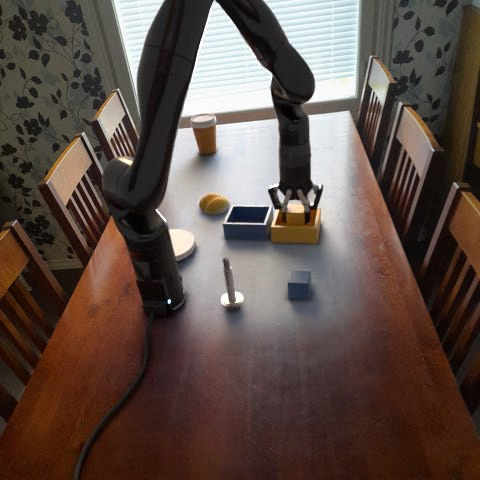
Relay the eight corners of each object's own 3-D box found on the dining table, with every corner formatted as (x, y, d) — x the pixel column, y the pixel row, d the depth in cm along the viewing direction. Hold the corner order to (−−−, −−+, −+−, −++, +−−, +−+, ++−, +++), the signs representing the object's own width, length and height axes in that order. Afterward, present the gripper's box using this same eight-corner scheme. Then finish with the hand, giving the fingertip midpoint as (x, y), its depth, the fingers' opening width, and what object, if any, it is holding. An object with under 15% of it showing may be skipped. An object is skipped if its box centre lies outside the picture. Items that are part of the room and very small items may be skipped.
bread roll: (214, 218, 130) (212, 206, 127) (195, 209, 135) (193, 196, 133) (235, 207, 133) (234, 195, 131) (217, 198, 139) (215, 186, 136)
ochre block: (304, 228, 116) (303, 213, 113) (286, 228, 117) (285, 212, 114) (306, 219, 119) (305, 204, 116) (289, 219, 120) (288, 203, 117)
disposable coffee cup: (191, 150, 169) (185, 117, 161) (214, 143, 172) (210, 110, 164) (200, 158, 163) (194, 124, 155) (224, 151, 165) (220, 117, 157)
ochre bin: (316, 243, 115) (317, 228, 112) (271, 242, 118) (270, 227, 115) (320, 222, 122) (320, 207, 119) (278, 221, 125) (277, 207, 122)
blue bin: (267, 239, 119) (266, 224, 116) (224, 238, 121) (222, 223, 118) (273, 220, 126) (272, 205, 123) (233, 219, 128) (231, 204, 125)
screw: (222, 300, 102) (243, 298, 102) (222, 314, 99) (244, 312, 98) (213, 252, 93) (237, 249, 93) (213, 265, 90) (237, 263, 90)
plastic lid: (139, 246, 123) (136, 238, 121) (188, 232, 126) (186, 224, 124) (150, 273, 113) (147, 264, 111) (203, 257, 116) (201, 248, 114)
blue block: (308, 299, 99) (308, 283, 96) (288, 298, 100) (287, 282, 97) (311, 287, 102) (311, 270, 99) (291, 286, 103) (290, 270, 100)
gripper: (261, 166, 106) (267, 230, 117) (324, 165, 102) (323, 231, 114) (267, 153, 111) (271, 215, 122) (326, 152, 108) (325, 216, 119)
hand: (296, 222), depth 118 cm, fingers closed on ochre block, 4 cm apart
